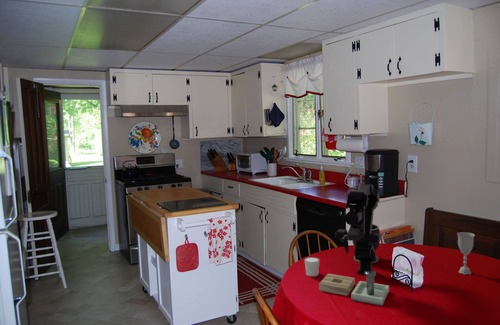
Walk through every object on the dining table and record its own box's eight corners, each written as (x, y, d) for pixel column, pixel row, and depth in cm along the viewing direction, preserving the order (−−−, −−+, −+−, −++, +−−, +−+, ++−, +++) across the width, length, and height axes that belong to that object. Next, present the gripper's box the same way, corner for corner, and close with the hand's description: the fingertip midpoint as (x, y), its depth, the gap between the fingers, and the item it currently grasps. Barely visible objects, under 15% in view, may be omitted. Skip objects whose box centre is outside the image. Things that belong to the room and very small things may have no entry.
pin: (366, 290, 165) (365, 269, 164) (377, 292, 163) (376, 271, 162) (363, 294, 161) (363, 273, 160) (374, 296, 159) (374, 275, 158)
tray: (359, 286, 171) (359, 280, 171) (388, 291, 165) (388, 285, 165) (351, 299, 159) (351, 293, 158) (382, 305, 153) (382, 299, 153)
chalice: (456, 274, 180) (457, 235, 178) (455, 269, 186) (456, 231, 185) (475, 276, 177) (476, 237, 176) (472, 270, 184) (473, 232, 182)
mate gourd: (379, 264, 195) (379, 225, 193) (350, 262, 200) (350, 223, 198) (380, 254, 209) (380, 217, 207) (354, 252, 214) (353, 216, 212)
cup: (319, 277, 183) (319, 262, 182) (304, 276, 184) (304, 261, 183) (319, 271, 189) (319, 257, 189) (305, 270, 191) (305, 256, 190)
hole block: (328, 280, 179) (327, 273, 178) (354, 284, 173) (354, 278, 173) (319, 290, 168) (319, 283, 168) (347, 295, 162) (347, 288, 162)
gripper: (330, 222, 169) (331, 257, 170) (375, 226, 160) (376, 263, 161) (338, 216, 178) (339, 249, 180) (381, 220, 169) (381, 255, 171)
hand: (357, 254), depth 173 cm, fingers open, 9 cm apart
